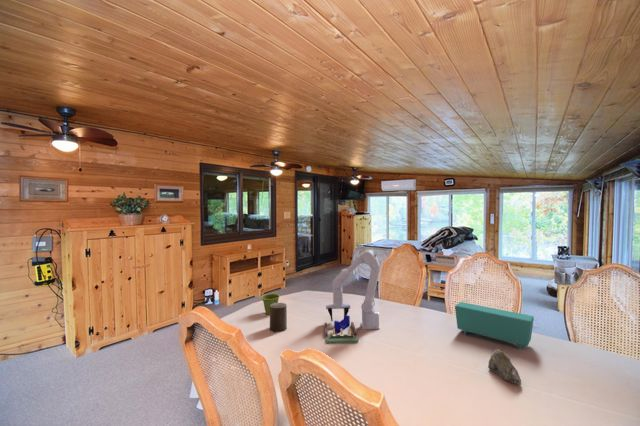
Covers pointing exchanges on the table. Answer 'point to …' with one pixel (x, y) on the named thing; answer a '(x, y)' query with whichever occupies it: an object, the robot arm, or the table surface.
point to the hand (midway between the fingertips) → (338, 320)
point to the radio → (495, 323)
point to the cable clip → (342, 324)
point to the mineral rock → (503, 367)
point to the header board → (342, 338)
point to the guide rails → (351, 326)
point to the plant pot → (269, 301)
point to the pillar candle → (278, 317)
